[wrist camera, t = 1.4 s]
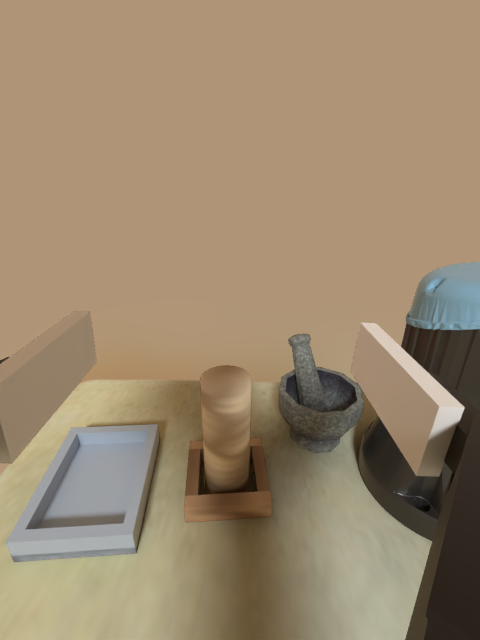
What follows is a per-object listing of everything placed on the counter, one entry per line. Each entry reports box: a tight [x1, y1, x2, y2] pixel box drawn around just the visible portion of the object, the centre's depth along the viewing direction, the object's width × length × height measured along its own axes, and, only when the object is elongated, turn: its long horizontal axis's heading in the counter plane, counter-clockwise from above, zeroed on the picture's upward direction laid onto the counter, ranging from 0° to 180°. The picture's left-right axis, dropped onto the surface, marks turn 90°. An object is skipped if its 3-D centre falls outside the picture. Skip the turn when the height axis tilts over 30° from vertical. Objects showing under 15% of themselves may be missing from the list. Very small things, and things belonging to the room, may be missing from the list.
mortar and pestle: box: [279, 334, 364, 453], centre depth 39 cm, size 11×9×12 cm
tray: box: [6, 424, 160, 562], centre depth 33 cm, size 10×13×2 cm
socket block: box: [184, 438, 272, 522], centre depth 34 cm, size 8×8×2 cm
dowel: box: [200, 365, 252, 494], centre depth 31 cm, size 5×5×13 cm
